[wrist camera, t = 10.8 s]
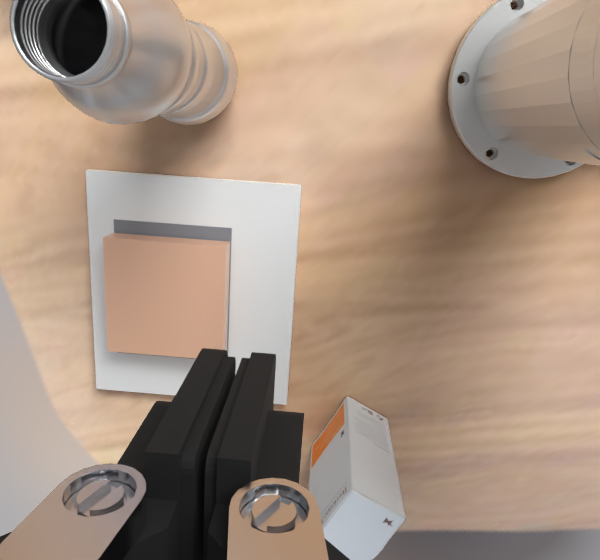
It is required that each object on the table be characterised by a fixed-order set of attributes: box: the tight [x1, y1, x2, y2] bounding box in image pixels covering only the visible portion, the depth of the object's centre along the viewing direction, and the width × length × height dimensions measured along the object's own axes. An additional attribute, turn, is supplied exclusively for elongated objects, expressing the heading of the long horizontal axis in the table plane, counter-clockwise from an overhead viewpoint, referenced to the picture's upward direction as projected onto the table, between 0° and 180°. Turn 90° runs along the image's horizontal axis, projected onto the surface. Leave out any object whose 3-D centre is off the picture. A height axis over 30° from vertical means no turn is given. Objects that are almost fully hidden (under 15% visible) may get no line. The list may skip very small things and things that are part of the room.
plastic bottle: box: [10, 0, 237, 125], centre depth 28 cm, size 6×7×20 cm
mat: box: [85, 169, 302, 405], centre depth 41 cm, size 16×18×1 cm
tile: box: [103, 233, 230, 358], centre depth 40 cm, size 2×9×9 cm
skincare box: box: [309, 396, 406, 560], centre depth 39 cm, size 6×4×12 cm
